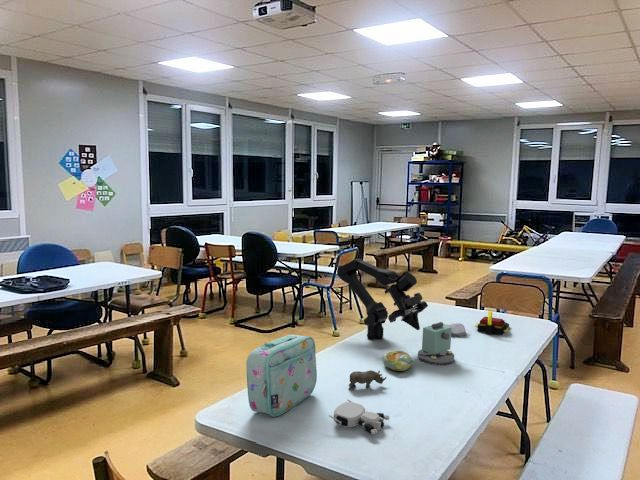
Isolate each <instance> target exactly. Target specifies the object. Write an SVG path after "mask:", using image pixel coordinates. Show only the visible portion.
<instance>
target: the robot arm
mask: <svg viewBox="0 0 640 480" xmlns="http://www.w3.org/2000/svg"><path fill="white" fill-rule="evenodd" d="M358 271H361V272H363V273H365V274H366V275H368V276H370V277H373V278H374V279H375V280H376V282H378V283H379V284H380V285H382V286H386V287H385V290H384V294H385V295H386V294H389V295H390V297H391V298H392V300H393V301H394V303H393V306H396V307H397V309H396V310H393V311H392V312H391V313H390V314H389V313H388V310H387V307H386V306H385V305H384V303H383V302H382V301H379V302H377V301H376V300H375V299H374V297H372V295H371V294H370V293H369V291H368V290H367V289H366V288H365V286H364V285H363V283H362V282H361V281H360V279H359V277H358ZM336 275H337V277H338V278H339V279H340V280H341V281H342V282H345V283H347V284H348V285H349V286H350V288H351V289H352V290H353V292H354V293H355V294H356V296H357V298H359V300H360V302H362V304H363V306H364V307H365V309H366V311H365V312H366V315H367V316H366V317H365V318H364V319H363V323H364V325H365V326H366V327H367V329H366V331H367V333H366V338H367V340H383V338H384V326H383V324H385V323H386V320H387V319H388V321H389V323H394V322H396V321H397V319H398V318H400V317H401V319H400V322H404V323H406V324H408V325H409V326H411V327H412V328H413V329H415V330H417V331H419V330H421V328H420V322H419V317H418V316H419V313H421V312H423V311H424V310H425V309H427V307H428V306H429V305H428V303H427V302H426V300H425V301H424V300H423V295H422V294H421V293H420V292H416V293H414V294H413V296H410V294H407V293H406V292H408V291H409V290H410V289H412V288H413V287H414V286H416V284H418V283H417V282H418V280H417V278H416V276H415V275H414V274H412V273H409V271H408V270H406V271H405V270H404V271H403V272H402V273H401V275H399V274H398V273H397V272H396V271H394V270H391V269H385V268H379V267H378V266H376V265H373V264H371V263H369V262H367V261H365V260H363V259H362V258H355V259H352V260H351V261H350V262H348V263H345V264H343V265H338V267H337V269H336Z"/></svg>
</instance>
